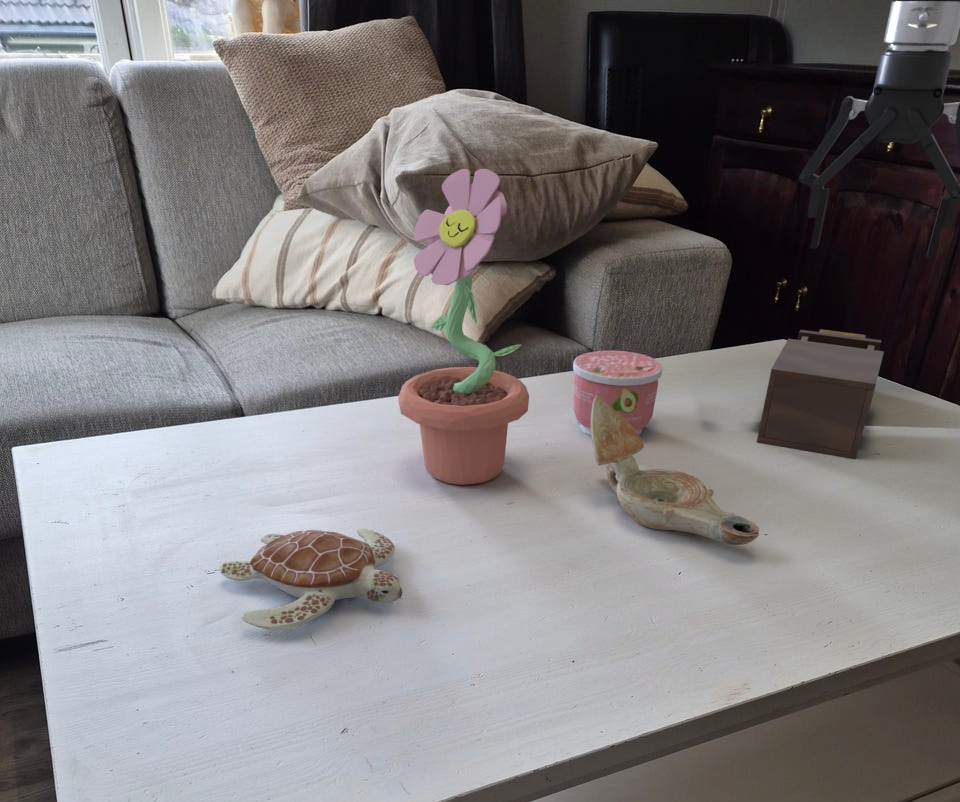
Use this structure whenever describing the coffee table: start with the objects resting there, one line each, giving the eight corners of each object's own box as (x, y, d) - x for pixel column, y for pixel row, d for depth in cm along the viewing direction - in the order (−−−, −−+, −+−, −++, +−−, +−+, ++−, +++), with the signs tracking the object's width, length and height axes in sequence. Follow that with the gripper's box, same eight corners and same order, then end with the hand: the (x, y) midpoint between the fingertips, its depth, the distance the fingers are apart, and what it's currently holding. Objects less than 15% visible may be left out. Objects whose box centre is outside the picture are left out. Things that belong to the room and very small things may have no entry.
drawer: (795, 369, 131) (806, 318, 127) (870, 380, 128) (884, 328, 124) (775, 411, 117) (786, 355, 113) (859, 425, 114) (874, 367, 110)
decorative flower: (370, 462, 103) (355, 164, 86) (467, 435, 110) (471, 154, 93) (451, 511, 94) (451, 185, 77) (551, 477, 101) (572, 173, 84)
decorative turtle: (341, 667, 71) (337, 612, 68) (175, 611, 77) (165, 559, 74) (452, 565, 84) (453, 516, 82) (303, 524, 90) (299, 477, 88)
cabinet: (774, 406, 121) (788, 338, 116) (865, 421, 117) (883, 351, 112) (756, 442, 110) (771, 368, 105) (855, 459, 107) (875, 383, 102)
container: (554, 432, 112) (558, 367, 107) (589, 407, 119) (595, 345, 115) (635, 451, 107) (643, 384, 103) (666, 423, 115) (675, 359, 110)
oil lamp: (614, 475, 102) (624, 386, 96) (777, 549, 88) (800, 451, 83) (558, 496, 97) (565, 404, 91) (721, 577, 84) (741, 475, 78)
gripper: (798, 47, 104) (764, 248, 116) (1045, 51, 96) (981, 266, 107) (806, 45, 109) (773, 237, 121) (1040, 49, 101) (980, 254, 113)
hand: (871, 251), depth 114 cm, fingers open, 13 cm apart
